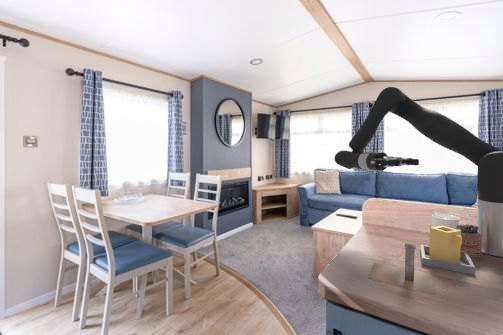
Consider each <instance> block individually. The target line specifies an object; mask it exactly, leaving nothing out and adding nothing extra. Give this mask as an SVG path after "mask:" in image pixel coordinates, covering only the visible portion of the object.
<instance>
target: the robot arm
mask: <svg viewBox="0 0 503 335" xmlns="http://www.w3.org/2000/svg"><path fill="white" fill-rule="evenodd" d="M389 113H392V114H393V115H395V116H398V117H399V118H401V119H403V120H405V121H406V122H408V124H410V125H412V127H413V128H415V129H416V131H418V132H419V133H420V134H422V135H423V136H424V137H425V138H428V139H429V140H431V141H432V142H434V143H435V144H437V145H439V146H441V147H443V148H445V149H447V150H449V151H451V152H454V153H456V154H459V155H461V156H463V157H464V158H465V159H467V160H469V161H470V162H471V163H472V164H474V165H475V166H477V177H476V179H477V180H476V183H477V184H476V187H477V188H476V191H477V211H476V226H479V229H478V232H482V233H483V236H482V246H481V253H482V254H483V253H484V254H485V255H486V254H487V255H489V256H495V257H500V258H503V149H501V148H499V147H497V146H494V145H492V144H491V143H488V142H486V141H484V140H482V139H481V138H479V137H478V136H476V135H475V134H474V133H472V132H471V131H470V130H468V129H467V128H465V127H464V126H462V125H461V124H459V123H458V122H456V121H454V120H453V119H452V118H449V117H448V116H446V115H444V114H442V113H440V112H438V111H436V110H433V109H431V108H428V107H425V106H422V105H421V104H419V103H417V102H416V101H414V100H413V99H412V98H411V97H409V96H408V95H407V94H406V93H405V92H403V91H402V89H400V88H398V87H396V86H387V87H385V88H384V89H382V90H381V91H380V92H379V94H378V95H377V97H376V100H374V103H373V105H372V107H371V109H370V110H369V113H368V114H367V116H366V118H365V120H364V121H363V122H362V124H361V126H359V129H358V130H357V131H356V133H355V134H354V136H352V138H351V139H350V141H349V142H348V147H349V148H350V149H351V150H352V151H350V150H340V151H338V152H337V153H335V154H334V163H335V164H336V165H338V166H340V167H342V168H346V169H348V170H353V169H354V168H355V169H362V170H367V171H375V172H376V171H378V172H382V171H385V170H386V169H387V168H393V167H402V166H419V165H420V160H419V159H418V158H412V157H402V156H388V154H387V153H386V152H384V151H366V152H365V151H364V150H365V148H366V147H368V145H369V143H370V142H371V141H372V139H373V138H374V136H375V135H376V131H377V129H378V127H379V125H380V124H381V122H382V120H383V119H384V118H385V116H387V114H389ZM363 151H364V152H363Z"/></svg>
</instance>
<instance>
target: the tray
mask: <svg viewBox="0 0 503 335" xmlns="http://www.w3.org/2000/svg"><path fill="white" fill-rule="evenodd" d="M429 247H430V245H426V244H420V247H419V248H420V258H421V265H422V266H428V267H432V268H438V269H442V270H449V271H453V272H459V273H464V274H468V275H474V276H476V275H475V274H476V266H475V264H474V263H473V262H474V261H473V260H472V259H471V257H469V255H468V254H467V252H465V251H460V263H454V262H448V261H443V260H437V259H431V258H429V257H426V253H427V254H429Z"/></svg>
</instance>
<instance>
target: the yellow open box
mask: <svg viewBox="0 0 503 335" xmlns="http://www.w3.org/2000/svg"><path fill="white" fill-rule="evenodd" d="M461 245H462V236H461V229H459V230H456V229H453V228H449V227H446V226H437V227H432V226H431V227H430V228H429V246H430V247H429V253H428V256H429V257H428V258H431V259H437V260H443V261H448V262H454V263H460V247H461Z"/></svg>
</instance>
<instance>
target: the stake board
mask: <svg viewBox="0 0 503 335" xmlns="http://www.w3.org/2000/svg"><path fill="white" fill-rule="evenodd" d="M416 247H417V246H416V243H415V244H414V243H407V242H404V248H405V251H404V253H405V254H404V256H405V257H404V265H405V266H404V267H398V266H394V265H391V264H384V263H380V262H373V263H372V267H371V269H370V273H369V277H368V280H372V281H376V282H379V283H380V282H381V283H384V284H390V285H393V286H397V287H401V288H406V289H409V290H414V291H419V292H421V293H427V294H430V295H436V294H435V288H434V281H433V276H432V273H429V272H424V271H419V270H415V253H416Z"/></svg>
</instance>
